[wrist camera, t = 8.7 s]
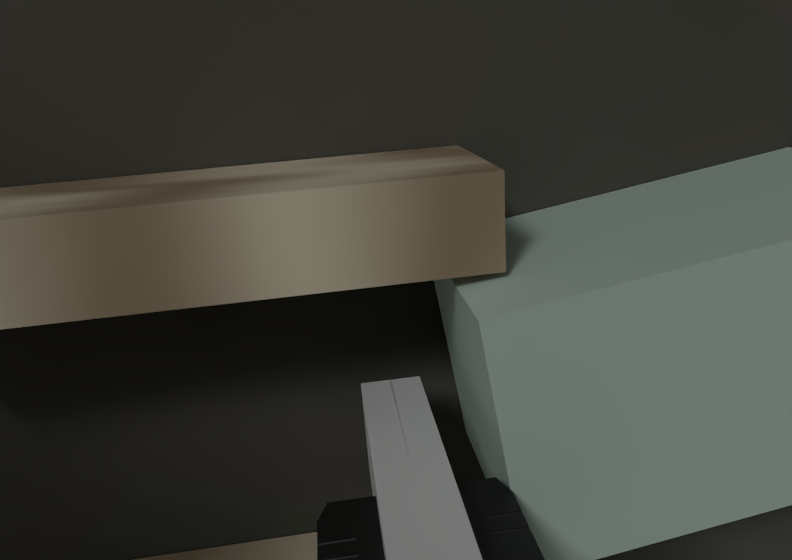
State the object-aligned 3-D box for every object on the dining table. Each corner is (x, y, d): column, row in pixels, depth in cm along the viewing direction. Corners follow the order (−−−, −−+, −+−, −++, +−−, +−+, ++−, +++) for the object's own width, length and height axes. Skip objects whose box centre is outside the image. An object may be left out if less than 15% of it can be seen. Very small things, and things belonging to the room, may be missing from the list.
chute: (12, 632, 18) (-67, 779, 14) (-151, 202, 14) (-326, 251, 10) (474, 559, 19) (512, 677, 16) (457, 145, 15) (504, 170, 11)
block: (465, 431, 18) (527, 578, 13) (424, 238, 16) (478, 320, 11) (787, 345, 18) (974, 453, 13) (788, 147, 16) (1009, 182, 11)
